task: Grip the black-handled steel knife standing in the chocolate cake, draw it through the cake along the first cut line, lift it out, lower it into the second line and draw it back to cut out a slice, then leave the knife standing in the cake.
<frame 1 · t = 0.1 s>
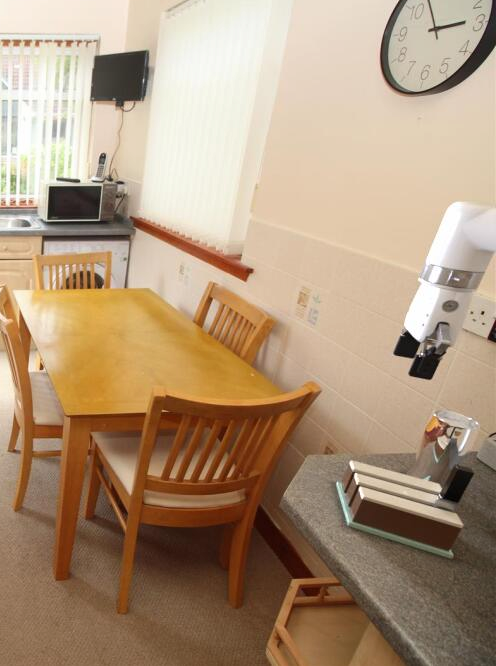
hand: (410, 366, 87), 24 cm above the countertop, tool pointing down, fingers open, 9 cm apart
cake: (388, 518, 84), on the countertop
beer glass: (423, 484, 93), on the countertop
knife: (429, 533, 80), point 1 cm above the countertop, touching cake
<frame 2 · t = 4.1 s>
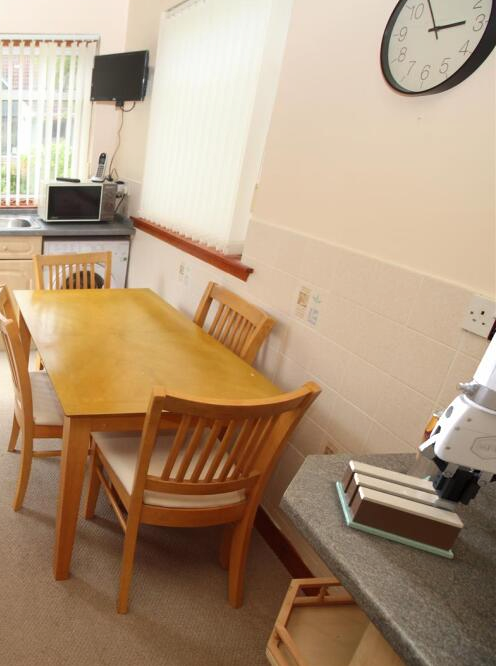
hand: (450, 495, 77), 9 cm above the countertop, tool pointing down, fingers closed on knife
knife: (429, 533, 80), point 1 cm above the countertop, touching cake, gripper
everything else where it was.
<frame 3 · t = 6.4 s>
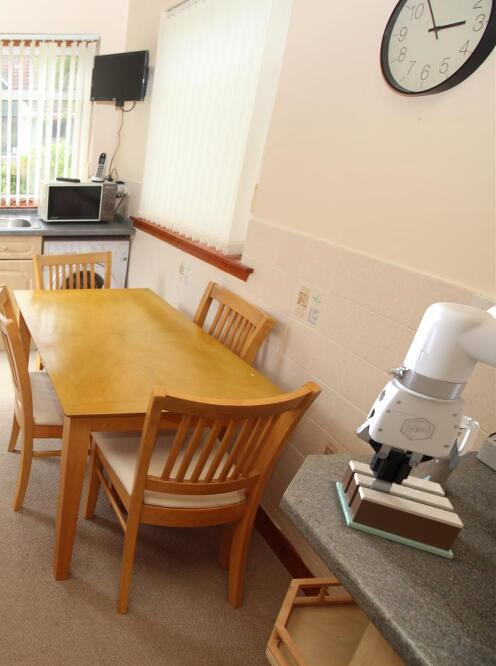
hand: (385, 476, 80), 9 cm above the countertop, tool pointing down, fingers closed on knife
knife: (368, 513, 83), point 1 cm above the countertop, touching gripper
everything else where it was.
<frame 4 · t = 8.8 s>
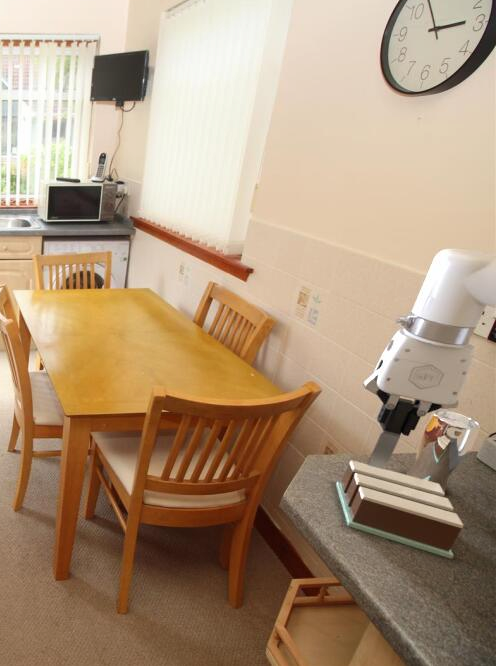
hand: (393, 428, 80), 17 cm above the countertop, tool pointing down, fingers closed on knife
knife: (375, 466, 84), point 9 cm above the countertop, touching gripper
everything else where it was.
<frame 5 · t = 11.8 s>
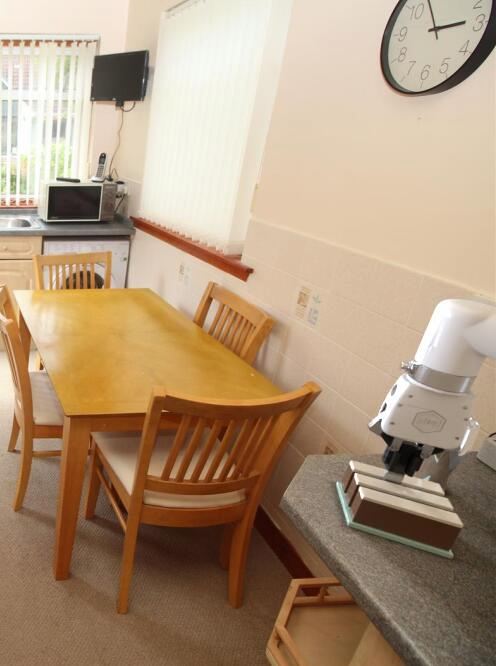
hand: (397, 468, 82), 9 cm above the countertop, tool pointing down, fingers closed on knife
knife: (380, 505, 86), point 1 cm above the countertop, touching gripper
everything else where it was.
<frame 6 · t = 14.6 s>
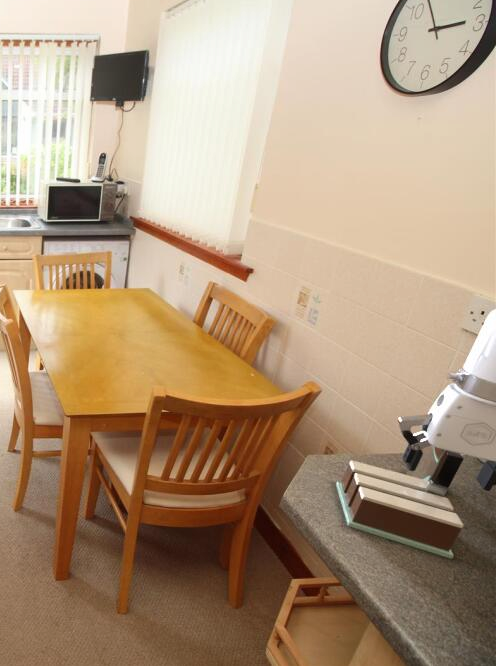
hand: (444, 475, 80), 10 cm above the countertop, tool pointing down, fingers open, 9 cm apart
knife: (421, 517, 83), point 1 cm above the countertop, touching cake
everything else where it was.
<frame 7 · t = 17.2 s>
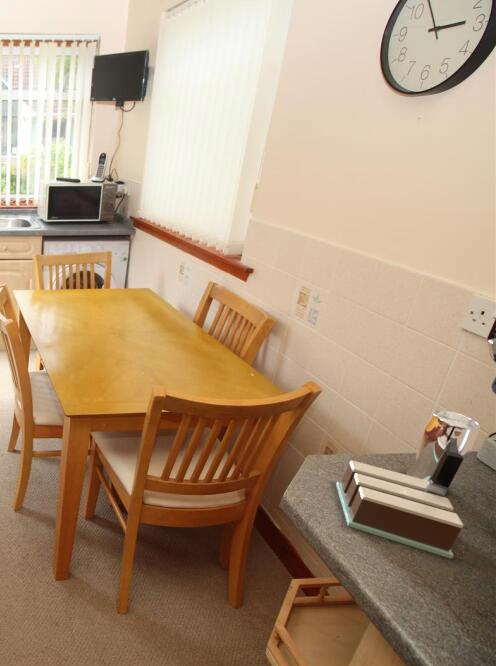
nothing on the countertop moved.
at the end: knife 0.2 cm from the target spot, point 0.8 cm above the countertop; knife tilted 0°; the gripper is holding nothing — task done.
